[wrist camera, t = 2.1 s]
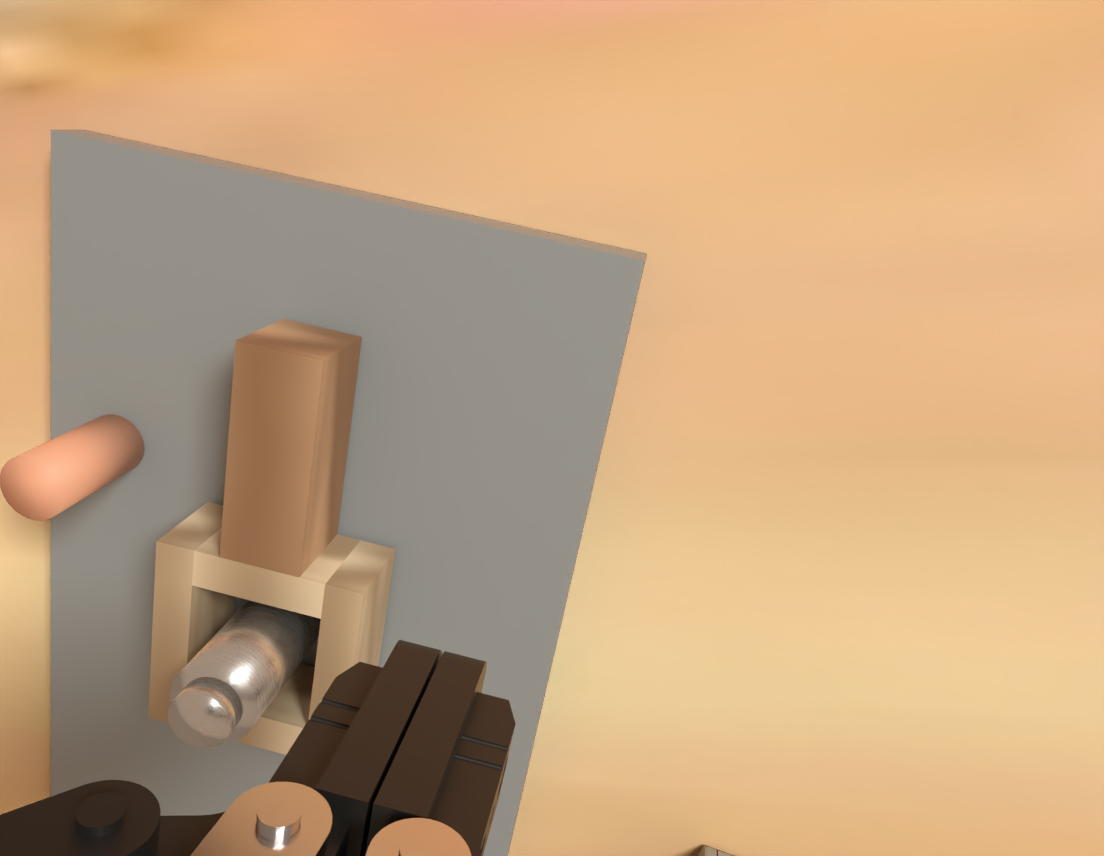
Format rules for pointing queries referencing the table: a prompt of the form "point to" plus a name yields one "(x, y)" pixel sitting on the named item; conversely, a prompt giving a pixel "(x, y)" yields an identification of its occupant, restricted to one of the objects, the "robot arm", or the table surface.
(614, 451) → the table surface
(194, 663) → the post
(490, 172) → the table surface
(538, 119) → the table surface
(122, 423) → the salmon orange capsule
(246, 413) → the square frame with handle
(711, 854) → the digital clock
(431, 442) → the jig deck
